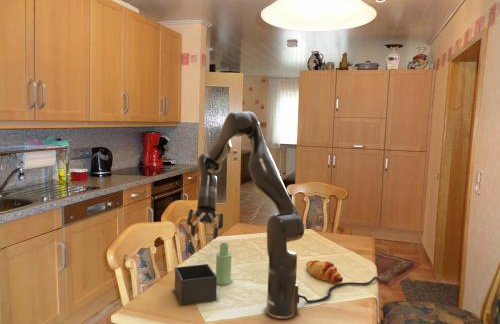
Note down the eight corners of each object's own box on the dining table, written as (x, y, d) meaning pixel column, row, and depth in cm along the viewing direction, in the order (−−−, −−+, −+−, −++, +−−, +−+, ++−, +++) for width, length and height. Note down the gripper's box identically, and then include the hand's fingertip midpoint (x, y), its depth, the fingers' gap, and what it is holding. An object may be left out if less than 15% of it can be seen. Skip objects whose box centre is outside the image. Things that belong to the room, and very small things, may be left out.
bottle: (228, 277, 155) (229, 241, 153) (232, 283, 149) (233, 245, 148) (214, 279, 153) (215, 242, 151) (218, 285, 147) (219, 247, 146)
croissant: (301, 275, 167) (295, 261, 165) (317, 261, 172) (311, 247, 169) (336, 294, 149) (330, 278, 147) (353, 278, 154) (347, 262, 151)
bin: (207, 285, 147) (207, 263, 146) (216, 300, 135) (216, 276, 134) (174, 289, 142) (175, 267, 141) (181, 305, 131) (181, 280, 130)
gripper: (192, 193, 155) (188, 232, 148) (226, 198, 159) (224, 237, 152) (188, 199, 161) (184, 237, 154) (221, 204, 166) (218, 241, 158)
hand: (203, 237), depth 153 cm, fingers open, 8 cm apart
